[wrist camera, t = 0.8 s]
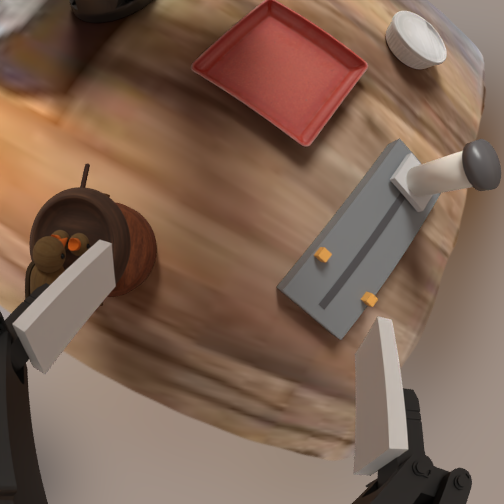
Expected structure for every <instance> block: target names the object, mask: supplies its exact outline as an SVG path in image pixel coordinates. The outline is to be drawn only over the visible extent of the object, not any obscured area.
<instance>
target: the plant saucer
mask: <svg viewBox="0 0 504 504" xmlns="http://www.w3.org/2000/svg"><path fill="white" fill-rule="evenodd" d="M367 68H368V64H367V63H366V62H365V61H364V60H363V59H362V58H360V57H359V56H358V55H357V54H355V53H354V52H353V51H352V50H350V49H349V48H347V47H346V46H345V45H344V44H342V43H341V42H339V41H338V40H337V39H335V38H334V37H333V36H331V35H330V34H328V33H327V32H325V31H324V30H323V29H321V28H320V27H318V26H317V25H315V24H314V23H312V22H311V21H309V20H307V19H306V18H304V17H303V16H301V15H300V14H298V13H296V12H295V11H293V10H291V9H290V8H288V7H286V6H284V5H283V4H281V3H280V2H278V1H276V0H265V1H263V2H262V3H261V4H260V5H258V6H257V7H256V8H254V9H253V10H252V11H251V12H250V13H248V14H247V15H246V16H244V17H243V18H242V19H241V20H240V21H238V22H237V23H236V24H235V25H234V26H233V27H231V28H230V29H229V30H228V31H227V32H225V33H224V34H223V35H222V36H221V37H220V38H219V39H218V40H217V41H216V42H214V43H213V44H212V45H211V46H210V47H209V48H208V49H207V50H206V51H205V52H204V53H202V54H201V55H200V56H199V57H198V58H197V59H196V60H195V61H194V62H193V63H192V65H191V70H192V71H194V72H195V73H197V74H198V75H200V76H202V77H203V78H205V79H207V80H208V81H210V82H211V83H213V84H215V85H216V86H218V87H219V88H221V89H222V90H224V91H226V92H227V93H229V94H230V95H232V96H233V97H235V98H236V99H238V100H239V101H241V102H242V103H244V104H245V105H247V106H248V107H249V108H251V109H252V110H254V111H255V112H257V113H258V114H259V115H261V116H262V117H264V118H265V119H266V120H268V121H269V122H271V123H272V124H273V125H275V126H276V127H278V128H279V129H280V130H282V131H283V132H284V133H286V134H287V135H288V136H290V137H291V138H292V139H294V140H295V141H296V142H297V143H299V144H300V145H301V146H303V147H308V146H310V145H311V144H312V143H313V141H314V140H315V138H316V137H317V136H318V134H319V133H320V132H321V130H322V129H323V127H324V126H325V125H326V123H327V122H328V121H329V119H330V118H331V117H332V115H333V114H334V113H335V111H336V110H337V109H338V107H339V106H340V105H341V103H342V102H343V100H344V99H345V98H346V96H347V95H348V94H349V92H350V91H351V90H352V88H353V87H354V86H355V84H356V83H357V82H358V80H359V79H360V78H361V76H362V75H363V74H364V72H365V71H366V70H367Z"/></svg>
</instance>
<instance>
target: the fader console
mask: <svg viewBox="0 0 504 504" xmlns="http://www.w3.org/2000/svg"><path fill="white" fill-rule="evenodd" d="M410 153H412V152H411V151H410V150H409V148H408V147H407V146H406V145H405V144H404V143H403V142H402V141H401V140H400V139H398V140H396V141H394V142H392V143H390V144H388V145H387V147H386V148H385V149H384V151H383V152H382V153H381V155H380V156H379V157H378V159H377V160H376V161H375V163H374V164H373V165H372V167H371V168H370V169H369V171H368V172H367V173H366V175H365V176H364V177H363V179H362V180H361V181H360V183H359V184H358V185H357V187H356V188H355V189H354V190H353V192H352V193H351V194H350V196H349V197H348V198H347V200H346V201H345V202H344V203H343V205H342V206H341V207H340V209H339V210H338V211H337V212H336V214H335V215H334V216H333V217H332V219H331V220H330V221H329V223H328V224H327V225H326V226H325V228H324V229H323V230H322V231H321V233H320V234H319V235H318V236H317V238H316V239H315V240H314V241H313V243H312V244H311V245H310V246H309V248H308V249H307V250H306V251H305V253H304V254H303V255H302V256H301V258H300V259H299V260H298V261H297V262H296V264H295V265H294V266H293V267H292V269H291V270H290V271H289V272H288V273H287V275H286V276H285V277H284V278H283V280H282V281H281V282H280V283H279V284H278V286H277V288H278V289H279V290H280V291H281V292H282V293H284V294H285V295H286V296H287V297H288V298H290V299H291V300H292V301H293V302H294V303H295V304H297V305H298V306H299V307H300V308H301V309H303V310H304V311H305V312H306V313H307V314H308V315H310V316H311V317H312V318H313V319H314V320H316V321H317V322H318V323H319V324H320V325H322V326H323V327H324V328H325V329H326V330H328V331H329V332H330V333H331V334H332V335H334V336H335V337H337V338H338V339H340V340H341V339H342V338H343V337H344V336H345V334H346V333H347V332H348V331H349V329H350V328H351V327H352V325H353V324H354V323H355V322H356V320H357V319H358V318H359V316H360V315H361V314H362V312H363V311H364V310H365V308H366V307H367V306H371V307H373V306H374V304H375V303H376V301H377V300H378V299H377V298H376V297H375V295H376V293H377V292H378V291H379V289H380V288H381V286H382V285H383V284H384V282H385V281H386V279H387V278H388V276H389V275H390V274H391V272H392V271H393V269H394V268H395V266H396V265H397V263H398V262H399V260H400V259H401V257H402V256H403V254H404V253H405V251H406V250H407V248H408V247H409V245H410V243H411V242H412V240H413V239H414V237H415V236H416V234H417V232H418V231H419V229H420V228H421V226H422V224H423V223H424V221H425V219H426V218H427V216H428V214H429V213H430V211H431V209H432V208H433V206H434V204H435V202H436V201H437V199H438V197H439V195H440V194H441V193H438V194H433V195H432V197H431V199H430V200H429V202H428V204H427V205H426V207H425V209H424V210H423V211H421V212H417V211H416V210H415V208H414V207H413V206H412V205H411V204H410V202H409V201H408V200H407V199H406V198H405V197H404V195H403V194H402V193H401V192H400V191H399V190H398V189H397V187H396V186H395V185H394V184H393V183H392V182H391V181H390V178H391V177H392V176H393V174H394V173H395V171H396V170H397V168H398V167H399V165H400V164H401V162H402V161H403V159H404V158H405V157H406V155H408V154H410ZM412 154H413V153H412ZM413 155H414V154H413ZM414 156H415V155H414ZM416 159H417V158H416ZM417 160H418V159H417ZM418 161H419V160H418ZM419 162H420V161H419ZM420 163H421V162H420Z"/></svg>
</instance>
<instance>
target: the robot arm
mask: <svg viewBox="0 0 504 504" xmlns="http://www.w3.org/2000/svg"><path fill="white" fill-rule="evenodd" d="M151 1H152V0H70V5H71V8H72V10H73V12H74V14H75V15H76V17H78V18H79V19H80V20H83V21H86V22H91V23H101V22H108V21H113V20H117V19H120V18H123V17H126V16H128V15H130V14H132V13H134V12H136V11H138V10H140V9H142V8H143V7H145V6H146V5H147V4H148V3H150V2H151ZM115 286H116V284H115V275H114V265H113V254H112V243H109V242H106V241H103V240H99V241H98V242H96V243H95V244H94V245H93V246H92V247H91V248H90V249H88V250H87V251H86V252H85V253H84V254H83V255H82V256H81V257H80V258H78V259H77V260H76V261H75V262H74V263H73V264H72V265H71V266H70V267H69V268H68V269H67V270H65V271H64V272H63V273H62V274H61V275H60V276H59V277H58V278H57V279H56V280H55V281H54V282H53V283H52V284H51V285H49V284H47V283H45V284H43V285H42V286H40V287H38V288H36V289H35V290H34V291H33V292H32V293H31V294H30V296H28V297H27V298H26V299H25V300H24V302H22V303H21V304H20V305H19V306H18V307H17V308H16V309H15V310H14V311H13V312H12V313H11V314H10V316H9V317H8V318H7V319H6V320H5V321H4V319H3V316H2V314H1V312H0V504H48V502H47V499H46V495H45V491H44V487H43V483H42V479H41V474H40V470H39V465H38V460H37V455H36V449H35V443H34V437H33V430H32V423H31V414H30V405H29V392H28V376H27V366H26V362H27V361H28V359H30V362H31V364H32V365H33V367H34V368H36V369H37V370H39V371H41V372H42V373H44V374H46V373H47V371H48V370H49V368H50V367H51V366H52V364H53V363H54V362H55V361H56V359H57V358H58V357H59V355H60V354H61V353H62V352H63V350H64V349H65V348H66V346H67V345H68V344H69V342H70V341H71V340H72V339H73V337H74V336H75V335H76V334H77V332H78V331H79V330H80V329H81V327H82V326H83V325H84V324H85V322H86V321H87V320H88V319H89V317H90V316H91V315H92V314H93V313H94V311H95V310H96V309H97V308H98V307H99V305H100V304H101V303H102V302H103V301H104V299H105V298H106V297H107V296H108V295H109V293H110V292H111V291H112V290H113V289H114V288H115ZM355 369H356V428H355V456H354V474H355V475H370V476H371V475H372V474H374V473H375V472H377V471H378V478H377V479H376V480H374V481H372V482H371V483H369V484H368V485H366V487H368V488H367V489H366V490H365V491H364V492H363V493H362V494H361V495H360V496H359V497H358V498H357V499H356V500H355V501H354V502H353V503H352V504H466V502H467V499H468V496H469V493H470V490H471V485H472V480H471V476H470V474H469V472H468V471H467V470H465V469H463V468H457V469H454V470H453V471H451V472H448V471H445V470H443V469H440V468H437V467H435V466H433V463H432V461H431V460H430V458H429V457H428V456H426V455H425V451H424V442H423V432H422V423H421V416H420V413H419V412H420V407H419V401H418V398H417V396H416V394H415V392H414V390H411V389H404V388H403V386H402V379H401V371H400V365H399V358H398V352H397V346H396V340H395V334H394V329H393V323H392V320H391V319H387V318H383V317H379V316H377V318H376V320H375V322H374V323H373V325H372V327H371V329H370V330H369V332H368V334H367V335H366V337H365V339H364V340H363V342H362V344H361V345H360V347H359V349H358V350H357V352H356V354H355Z"/></svg>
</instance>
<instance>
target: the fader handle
mask: <svg viewBox="0 0 504 504" xmlns="http://www.w3.org/2000/svg"><path fill="white" fill-rule="evenodd" d="M500 179H501V167H500V162H499V159H498V156H497V154H496V152H495V150H494V148H493V147H492V146H491V144H490V143H489V142H487V141H485V140H484V139H479V140H476V141H473V142H470V143H467V144H466V145H465V147H464V149H463V151H461V152H458V153H455V154H451V155H448V156H445V157H442V158H439V159H436V160H433V161H430V162H427V163H424V164H421V163H420V162H419V161H418V160H417V159H416V157H415V156H414V155H413V154H412V153H410V154H408V155H406V157H405V158H404V159H403V161H402V162H401V164H400V165H399V167H398V168H397V170H396V171H395V173H394V174H393V176H392V177H391V178H390V181H391V182H392V183H393V184H394V185H395V186H396V187H397V189H398V190H399V191H400V192H401V193H402V194H403V195H404V197H405V198H406V199H407V200H408V201H409V202H410V204H411V205H412V206H413V207H414V208H415V210H416V211H417V212H421V211H423V210H424V209H425V207H426V205H427V204H428V202H429V200H430V199H431V197H432V195H433V194H438V193H443V192H448V191H453V190H459V189H464V188H469V187H474V188H475V189H477V190H479V191H485V190H492V189H495V188H497V186H498V185H499V183H500Z"/></svg>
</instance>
